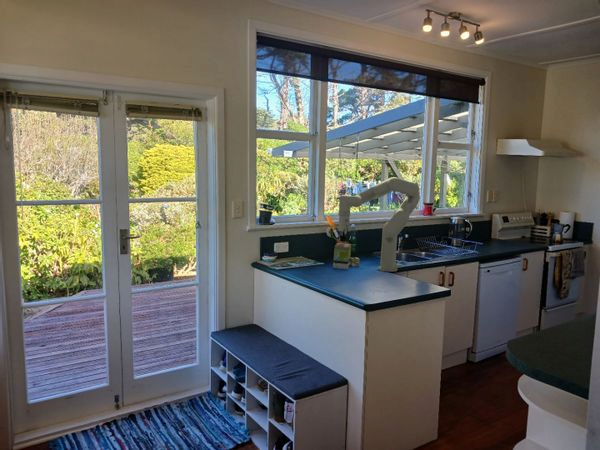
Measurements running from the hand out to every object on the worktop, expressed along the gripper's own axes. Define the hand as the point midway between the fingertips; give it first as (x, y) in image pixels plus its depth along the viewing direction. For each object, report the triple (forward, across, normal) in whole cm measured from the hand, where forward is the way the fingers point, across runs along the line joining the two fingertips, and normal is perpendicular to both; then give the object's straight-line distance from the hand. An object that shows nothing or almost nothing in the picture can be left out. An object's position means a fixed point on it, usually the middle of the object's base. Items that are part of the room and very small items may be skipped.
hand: (342, 241), depth 299 cm
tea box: (+17, 0, 0) cm, 17 cm away
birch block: (+17, +3, -10) cm, 20 cm away
